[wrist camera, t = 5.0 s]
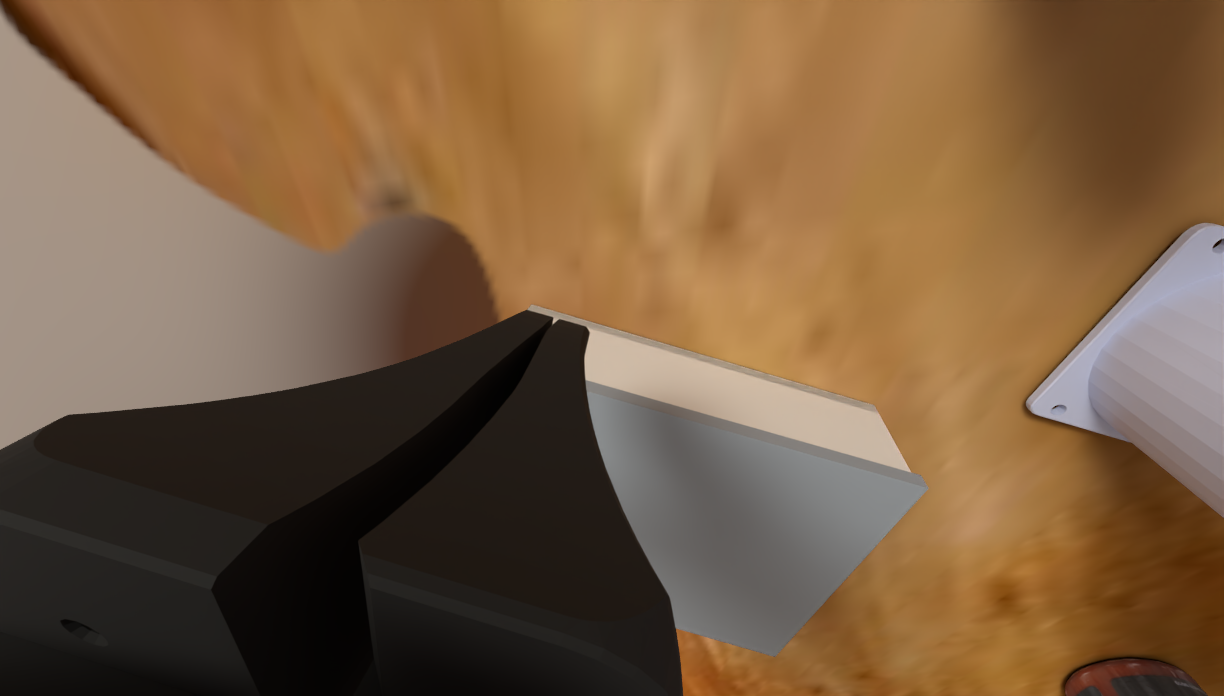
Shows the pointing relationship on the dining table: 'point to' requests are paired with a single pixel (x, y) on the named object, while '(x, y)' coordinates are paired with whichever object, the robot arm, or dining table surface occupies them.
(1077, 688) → the supplement bottle
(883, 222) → the dining table surface
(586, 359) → the storage box
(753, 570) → the lid
